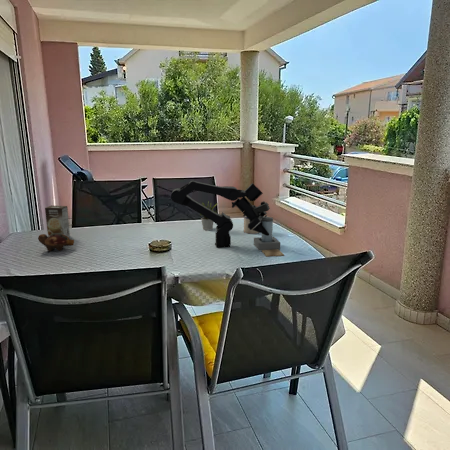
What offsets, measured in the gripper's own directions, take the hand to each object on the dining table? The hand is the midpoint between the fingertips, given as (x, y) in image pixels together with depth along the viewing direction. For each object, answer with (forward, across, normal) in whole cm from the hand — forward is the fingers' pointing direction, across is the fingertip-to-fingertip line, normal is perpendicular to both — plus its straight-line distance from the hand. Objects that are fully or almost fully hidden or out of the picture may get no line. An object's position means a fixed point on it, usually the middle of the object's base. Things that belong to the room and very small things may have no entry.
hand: (270, 232), depth 181 cm
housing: (+4, 0, +6) cm, 7 cm away
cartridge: (+4, 0, +6) cm, 7 cm away
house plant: (-23, +25, +33) cm, 47 cm away
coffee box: (-71, -10, +81) cm, 108 cm away
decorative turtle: (-62, -28, +72) cm, 99 cm away
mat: (+7, -9, +3) cm, 11 cm away
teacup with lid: (-5, +27, +15) cm, 31 cm away
